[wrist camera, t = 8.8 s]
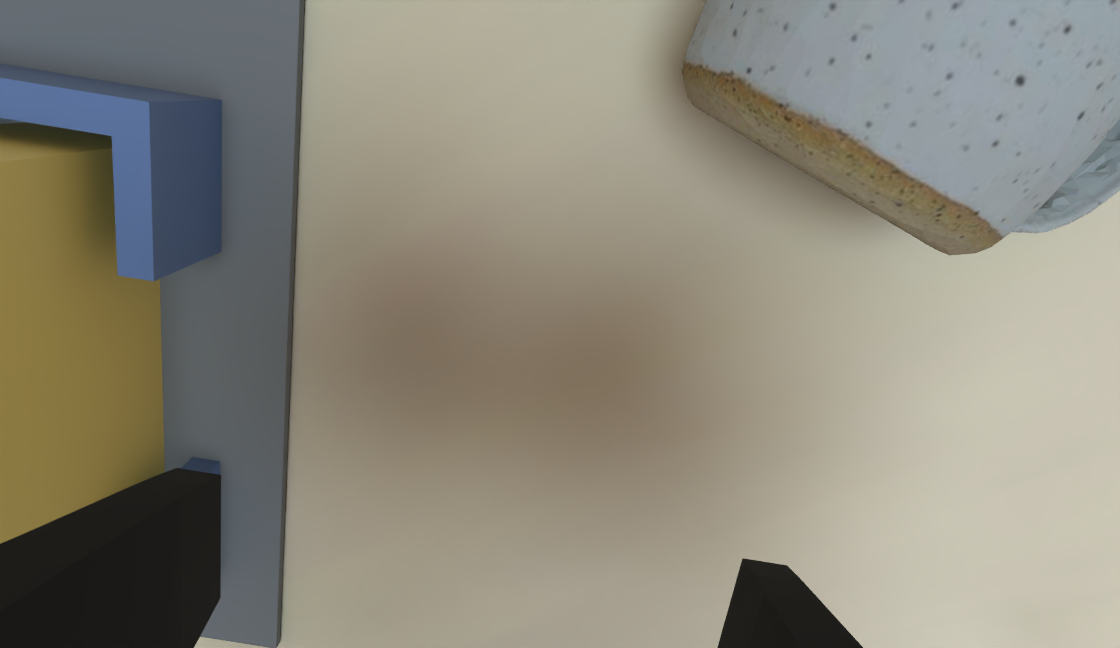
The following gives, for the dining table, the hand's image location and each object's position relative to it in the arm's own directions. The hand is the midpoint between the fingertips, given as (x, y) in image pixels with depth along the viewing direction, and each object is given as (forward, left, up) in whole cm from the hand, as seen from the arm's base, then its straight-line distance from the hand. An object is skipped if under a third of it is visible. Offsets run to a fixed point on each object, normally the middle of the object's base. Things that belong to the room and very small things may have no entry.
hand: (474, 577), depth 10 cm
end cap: (+3, +12, -10) cm, 15 cm away
